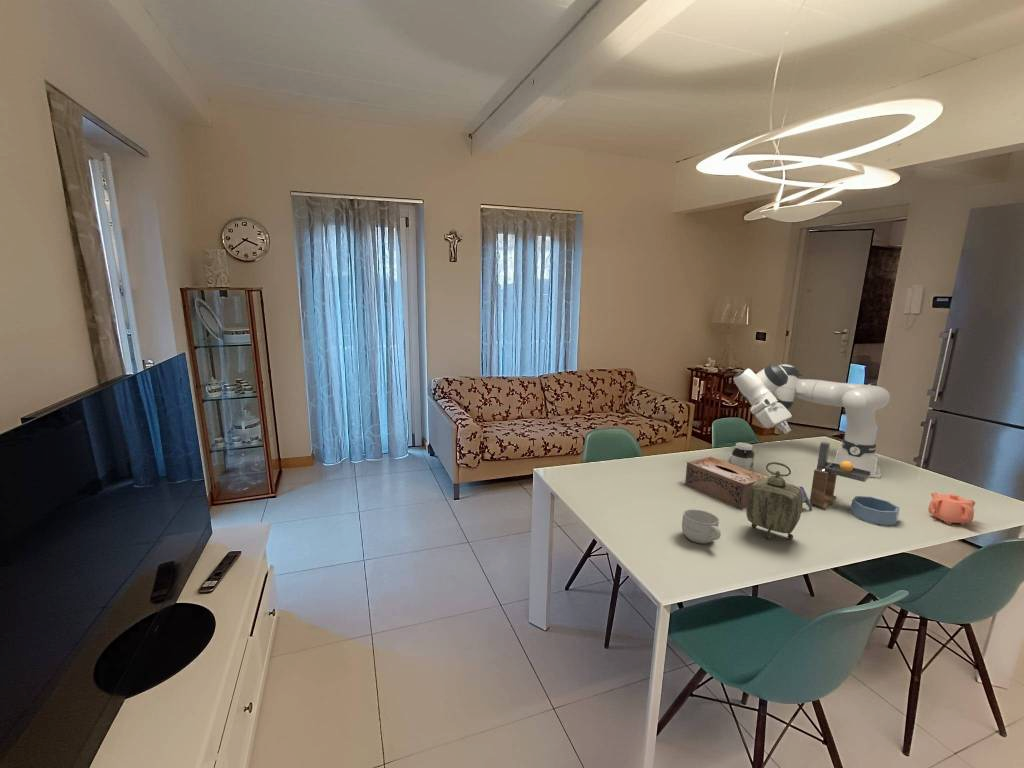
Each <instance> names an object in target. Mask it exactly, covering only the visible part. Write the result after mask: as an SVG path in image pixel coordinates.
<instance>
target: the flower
mask: <svg viewBox="0 0 1024 768" xmlns="http://www.w3.org/2000/svg"><path fill="white" fill-rule="evenodd" d="M797 487H798V488H800V489H801V491H802V495H803V504H805V505H806V504H807V505H806V506H808V509H809V511H813V507H812V506H811V503H810V501H809V499H810V498H809V497H808V494H807V492H806V491H805V489H804V487H803V486H797Z"/></svg>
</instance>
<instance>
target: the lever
mask: <svg viewBox="0 0 1024 768" xmlns="http://www.w3.org/2000/svg"><path fill="white" fill-rule="evenodd" d="M830 446H831V443H830V442H825V441H821V442H820V443H819V451H818V457H817V458H818V459H817V465H816V469H817V470H821V471H825V472H828V473H830V474H834V475H837V477H838V476H839V477H841V478H842V477H843V478H847V479H851V480H854V481H859V482H863V483H865V482H866V481H867V480H869V478H870V477H869V476H870V473H871V471H866V470H862V469H858V468H853V470H852V471H850V472H844V471H842V470H841V469H840V464H836V463H834V462H831V463H830V464H829V465H828V466H827V462H828V459H829V453H830Z"/></svg>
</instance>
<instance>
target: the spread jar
mask: <svg viewBox="0 0 1024 768" xmlns="http://www.w3.org/2000/svg"><path fill="white" fill-rule="evenodd" d="M753 447H754V446H753V445H752V444H750V443H746V442H736V443H735V447H734V449H732V452H731V453H729V454H728V457H727V462H728V463H730V464H732V465H735V466H738V467H741V468H744V469H746V470H749V471H752V470H753V467H754V461H755V452H754V450H753Z"/></svg>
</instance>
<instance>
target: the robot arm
mask: <svg viewBox="0 0 1024 768" xmlns="http://www.w3.org/2000/svg"><path fill="white" fill-rule="evenodd" d="M799 376H800V377H803V374H801V373H800V371H799V369H798V368H796V367H795V366H793V365H790V364H787V363H783V364H776V363H769V364H768V365H767V366H765V367H764V368H763V369H762V370H760V371H758V372H757V373H755V372H754V371H753V370H752V369H751V368H747V367H746V368H744V369H742V370H741V371H739V372H738V373H736V374H735V375H733V382H734V383H735V385H736V387H737V388H738V391H739V393H740V394H741V396H742V397H743V399H745V401H747V402H749V404H750V405H751V408H750V413H751V414H752V415H755V417H756V419H757V420H758V421H759V422H760V423H761V425H763V427H765V428H766V429H768V430H769V429H771V428H773V427H775V426H776V427H777V428H778V429H779V430H781V432H782V433H784V434H785V435H787V434H788V433H791V432H792V429H791V428H790V427H789V423H788V420H790V419H791V418H793V415H792V414H791V412H790V411H789V409H791V408H792V406H793V404H794V399H795V397H796V398H798V399H800V400H803V401H807V402H810V403H815V404H819V405H825V406H830V407H839V408H840V407H843V408H844V410H845V418H846V419H845V420H846V422H845V423H846V424H845V433H844V437H843V439H842V442H841V448H838V449H837V450H836V455H835V460H834V462H833V463H836V464H841V462H843V461H849V462H851V463H852V465H853V468H858V469H862V470H866V471H871V473H870V476H869V478H876V479H881V478H882V474H881V473H882V472H881V469H882V468H881V466H879V465H877V464H878V458H877V455H876V449H877V444H876V440H877V435H878V429H879V427H878V426H879V425H877V421H876V415H875V413H876V411H879V410H881V409H883V408H884V407H885V406H887V405H888V404H889V403H890V400H891V394H890V392H889V391H888V390H887V389H886V388H884V387H882V386H879V385H870V384H863V383H862V384H861V383H860V384H859V383H849V382H848V383H847V382H837V381H828V380H823V379H812V378H811V379H809V378H800V377H799Z"/></svg>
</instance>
